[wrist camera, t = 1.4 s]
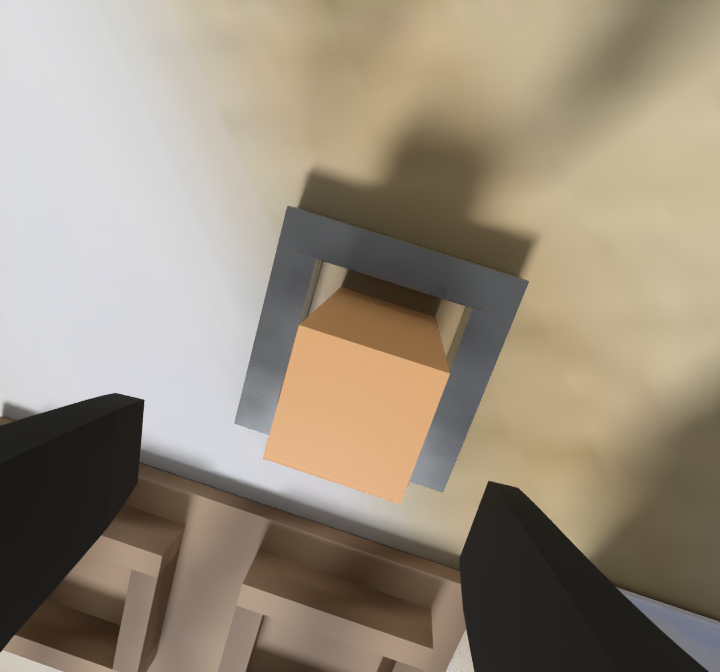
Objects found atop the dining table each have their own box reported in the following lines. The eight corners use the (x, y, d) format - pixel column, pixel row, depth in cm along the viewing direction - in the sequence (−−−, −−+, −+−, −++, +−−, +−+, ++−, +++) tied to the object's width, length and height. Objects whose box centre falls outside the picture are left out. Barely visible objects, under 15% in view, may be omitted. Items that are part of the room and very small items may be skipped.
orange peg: (435, 317, 18) (450, 373, 11) (403, 404, 19) (400, 504, 12) (341, 287, 18) (299, 324, 11) (315, 375, 19) (262, 458, 12)
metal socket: (519, 276, 17) (529, 281, 16) (440, 472, 19) (442, 492, 18) (297, 207, 17) (287, 205, 16) (247, 408, 20) (234, 423, 18)
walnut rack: (480, 577, 21) (490, 631, 18) (399, 751, 24) (398, 819, 21) (1, 416, 21) (-58, 444, 19) (-14, 605, 24) (-67, 653, 22)
